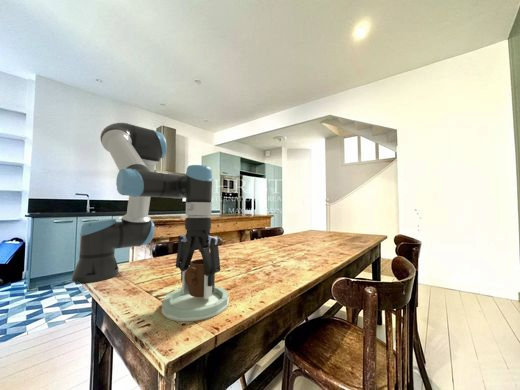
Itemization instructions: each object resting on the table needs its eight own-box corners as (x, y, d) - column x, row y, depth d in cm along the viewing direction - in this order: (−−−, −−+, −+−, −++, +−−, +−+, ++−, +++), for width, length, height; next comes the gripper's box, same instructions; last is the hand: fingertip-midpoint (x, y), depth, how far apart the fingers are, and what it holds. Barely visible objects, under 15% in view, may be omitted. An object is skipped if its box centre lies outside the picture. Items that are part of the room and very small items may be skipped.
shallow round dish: (145, 312, 58) (146, 303, 58) (193, 288, 75) (193, 281, 75) (201, 328, 50) (201, 317, 50) (240, 298, 67) (240, 290, 67)
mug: (197, 306, 56) (198, 269, 56) (173, 302, 58) (174, 267, 58) (218, 289, 67) (219, 259, 68) (197, 287, 69) (198, 257, 70)
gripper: (163, 216, 65) (161, 293, 63) (219, 218, 57) (217, 306, 55) (182, 215, 72) (180, 285, 70) (233, 217, 63) (233, 295, 62)
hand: (196, 294), depth 63 cm, fingers closed on mug, 7 cm apart
